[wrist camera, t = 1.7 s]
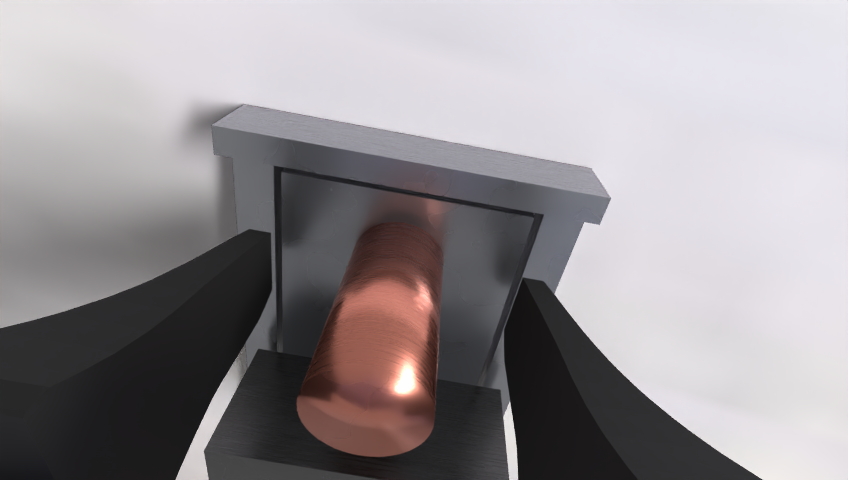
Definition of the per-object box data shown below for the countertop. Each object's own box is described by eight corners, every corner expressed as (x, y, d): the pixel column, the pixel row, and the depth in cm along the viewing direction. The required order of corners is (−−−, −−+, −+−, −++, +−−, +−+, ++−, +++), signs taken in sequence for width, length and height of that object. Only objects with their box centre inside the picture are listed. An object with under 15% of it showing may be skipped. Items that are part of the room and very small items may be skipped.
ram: (557, 204, 13) (628, 376, 8) (488, 391, 18) (501, 584, 12) (265, 150, 13) (118, 288, 8) (271, 354, 18) (183, 534, 12)
